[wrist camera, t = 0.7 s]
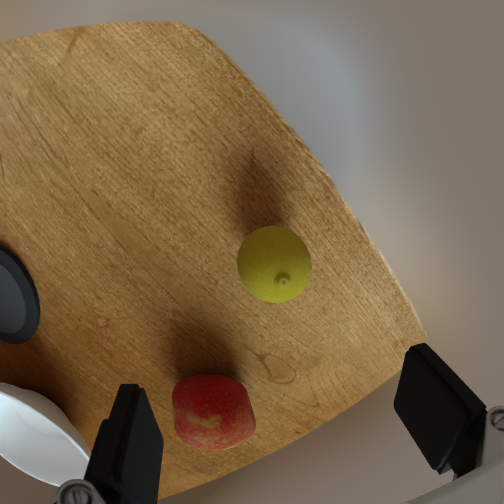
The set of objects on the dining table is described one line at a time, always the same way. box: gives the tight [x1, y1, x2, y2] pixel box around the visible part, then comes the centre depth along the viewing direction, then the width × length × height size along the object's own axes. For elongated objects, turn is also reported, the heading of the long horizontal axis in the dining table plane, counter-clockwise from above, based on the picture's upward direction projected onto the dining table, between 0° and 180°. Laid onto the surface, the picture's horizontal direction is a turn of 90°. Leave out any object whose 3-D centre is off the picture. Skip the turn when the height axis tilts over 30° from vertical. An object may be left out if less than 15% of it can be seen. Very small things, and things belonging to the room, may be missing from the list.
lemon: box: [237, 226, 311, 303], centre depth 24 cm, size 6×6×8 cm
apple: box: [172, 374, 256, 451], centre depth 28 cm, size 8×8×8 cm
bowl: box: [0, 383, 91, 486], centre depth 29 cm, size 20×20×7 cm
